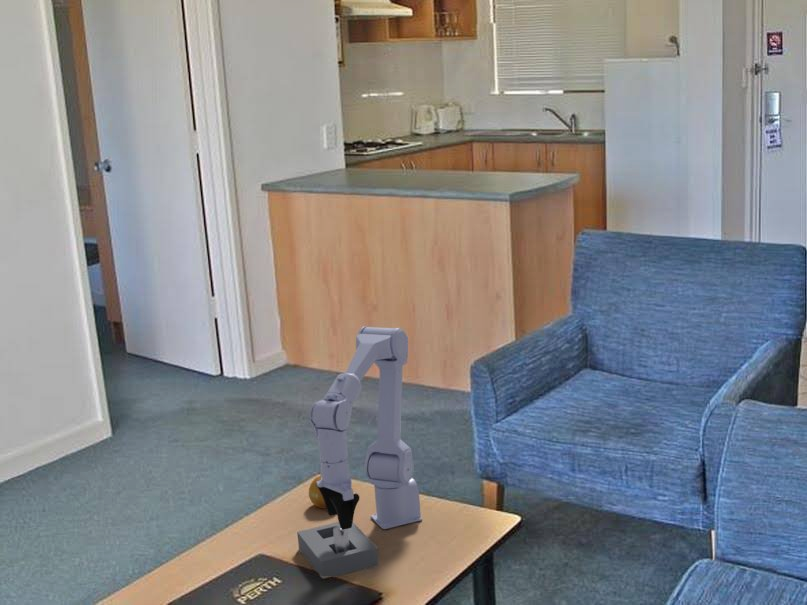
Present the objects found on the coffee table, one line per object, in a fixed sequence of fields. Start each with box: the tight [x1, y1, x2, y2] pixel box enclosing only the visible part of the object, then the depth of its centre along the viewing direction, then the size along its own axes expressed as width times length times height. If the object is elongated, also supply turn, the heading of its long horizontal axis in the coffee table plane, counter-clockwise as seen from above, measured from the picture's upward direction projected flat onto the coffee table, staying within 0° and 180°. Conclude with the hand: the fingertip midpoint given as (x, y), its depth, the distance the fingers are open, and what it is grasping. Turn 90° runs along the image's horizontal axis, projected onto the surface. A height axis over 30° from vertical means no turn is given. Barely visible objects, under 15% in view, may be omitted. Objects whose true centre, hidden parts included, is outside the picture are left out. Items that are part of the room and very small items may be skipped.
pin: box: [333, 526, 350, 554], centre depth 213 cm, size 3×3×7 cm
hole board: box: [296, 521, 379, 578], centre depth 218 cm, size 12×16×4 cm
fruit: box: [308, 474, 326, 509], centre depth 244 cm, size 8×8×8 cm
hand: (340, 521), depth 213 cm, fingers open, 7 cm apart
